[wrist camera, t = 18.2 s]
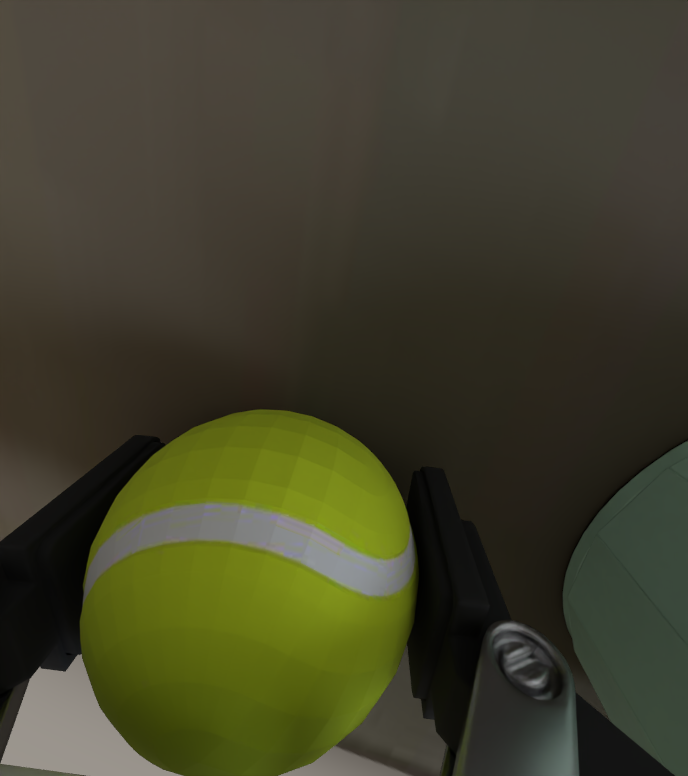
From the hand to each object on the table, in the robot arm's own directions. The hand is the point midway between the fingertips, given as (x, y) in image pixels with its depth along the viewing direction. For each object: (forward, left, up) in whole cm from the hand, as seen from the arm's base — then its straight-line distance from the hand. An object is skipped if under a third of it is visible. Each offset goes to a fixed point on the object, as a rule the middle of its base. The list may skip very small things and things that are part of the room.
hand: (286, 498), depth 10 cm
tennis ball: (0, 0, -1) cm, 1 cm away
